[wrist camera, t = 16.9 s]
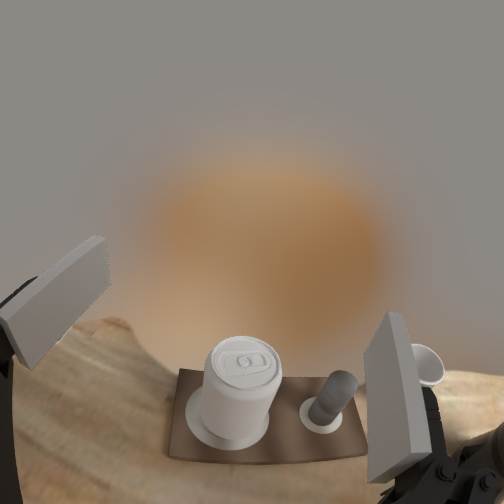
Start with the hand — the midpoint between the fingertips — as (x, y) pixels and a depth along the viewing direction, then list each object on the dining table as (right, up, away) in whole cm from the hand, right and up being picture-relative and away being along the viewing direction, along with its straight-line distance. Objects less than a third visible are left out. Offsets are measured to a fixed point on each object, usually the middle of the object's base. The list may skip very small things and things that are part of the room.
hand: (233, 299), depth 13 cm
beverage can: (-2, -19, +22) cm, 29 cm away
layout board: (+3, -21, +23) cm, 31 cm away
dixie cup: (+24, -23, +28) cm, 43 cm away
